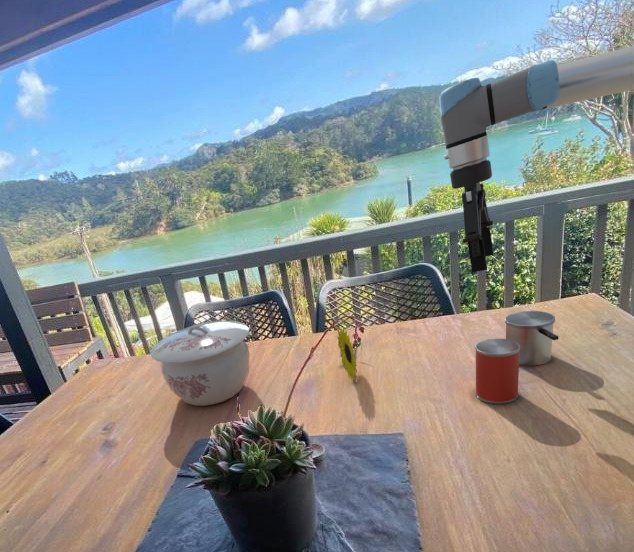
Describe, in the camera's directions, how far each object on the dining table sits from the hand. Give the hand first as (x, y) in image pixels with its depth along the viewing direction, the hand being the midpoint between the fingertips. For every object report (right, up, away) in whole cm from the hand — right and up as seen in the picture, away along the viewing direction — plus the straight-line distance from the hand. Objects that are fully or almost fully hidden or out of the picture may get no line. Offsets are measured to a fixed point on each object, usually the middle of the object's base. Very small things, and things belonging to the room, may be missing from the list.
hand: (483, 263), depth 97 cm
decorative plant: (-23, -24, +22) cm, 40 cm away
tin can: (0, -29, -5) cm, 29 cm away
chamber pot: (-61, -31, +26) cm, 74 cm away
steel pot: (+14, -22, +4) cm, 27 cm away
